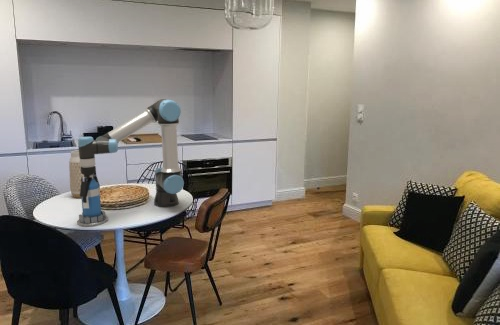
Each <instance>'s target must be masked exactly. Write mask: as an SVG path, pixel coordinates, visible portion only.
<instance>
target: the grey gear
mask: <svg viewBox="0 0 500 325" xmlns="http://www.w3.org/2000/svg"><path fill="white" fill-rule="evenodd" d="M108 221H109V216H107V212H106V211H105V210H103V209H101V215H98V216H92V217H84V216H83V211H82V212H81V214H78V219H77V220H76V225H77V226H79V227H86V228H87V227H98V226H101V225H104V224H106V223H107V222H108Z"/></svg>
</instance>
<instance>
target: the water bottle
mask: <svg viewBox="0 0 500 325" xmlns="http://www.w3.org/2000/svg"><path fill="white" fill-rule="evenodd" d="M90 177H92V181H91V183H90V185H89V189H88V193H87V196H88V202H89V208H83V199H82V197H81V198H80V199H81V205H82V206H81V208H82V212H83V216H84V217H92V216H98V215H101V210H102V206H101V204H102V203H101V194H100V193H101V192H100V191H101V190H100V189H99V185H100V183H99V184H98V183H97V182H96V181H95V179H94V178H93V175H90ZM87 183H89V182H87ZM80 188H81V186H80Z"/></svg>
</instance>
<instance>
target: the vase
mask: <svg viewBox="0 0 500 325" xmlns="http://www.w3.org/2000/svg"><path fill="white" fill-rule="evenodd" d="M79 160H80V157H79V149H76V150H72V151H70V158H69V161H68V164H69V167H68V168H69V170H68V171H69V187H70V188H69V189H70V192H71V195H72V197H74V198H76V199H81V197H80V189H81V188H80V186H81V178H84V174H81V167H82V166H80V161H79Z"/></svg>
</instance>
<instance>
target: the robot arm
mask: <svg viewBox="0 0 500 325" xmlns="http://www.w3.org/2000/svg"><path fill="white" fill-rule="evenodd" d="M181 114H182V111H181V106H180V104H178V102H176V101H175V100H173V99H166V98H165V99H159V100H157V101H155V102H154V103H153V104H151V105H150V106H148V107H146V108H145V110H144V111H142V112H141V113H140V114H137V115H136V116H134V117H132V118H131V119H129V120H127V121H126V122H123V123H122V124H120V125H118V126H117V127H115V128H114V129H112V130H111V131H108V132H107V133H105V134H103V135H100V136H98V137H96V139H95V140H94V137H92V136H81V137H78V140H77V142H78V143H77V144H78V145H77V148H78V150H79V157H80V160H79V161H80V166H82V167H81V174H84V178H81V189H80V197H82V199H83V208H89V202H88V196H87V193H88V189H89V185H90V183H91V181H92V177H90V175H93V178H94V179H95V181H96V182H97V183H98V184H99V190H100V189H101V186H100V182H99V180H98V175H97V166H96V157H95V155H102V154H103V155H104V154H113V153H117V152H118V150H119V147H118V143H120V142H121V141H122V140H124V139H126V138H128V137H129V136H131V135H134V133H136V132H138V131H139V130H141V129H143V128H144V127H147V126H149V125H150V124H151V123H154V124H155V123H157V124H158V125H159V127H160V129H161V130H160V131H161V150H162V152H161V153H162V167H159V168H156V169H155V170H154V171H155V172H154V175H155V190H156V191H155V197H154V200H153V205H154V206H156V207H160V208H168V207H169V208H170V207H175V206H177V205H179V204H180V201H179V200H180V199H179V197H178V193H180V192H181V191H182V190H183V188H184V184H185V181H184V179H183V176H182V169H181V168H180V167H179V157H178V155H179V153H178V152H179V151H178V134H177V132H178V131H177V129H178V128H177V126H178V125H179V124H180V121H179V120H180V116H181ZM87 182H89V183H87ZM82 199H81V200H82Z"/></svg>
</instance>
